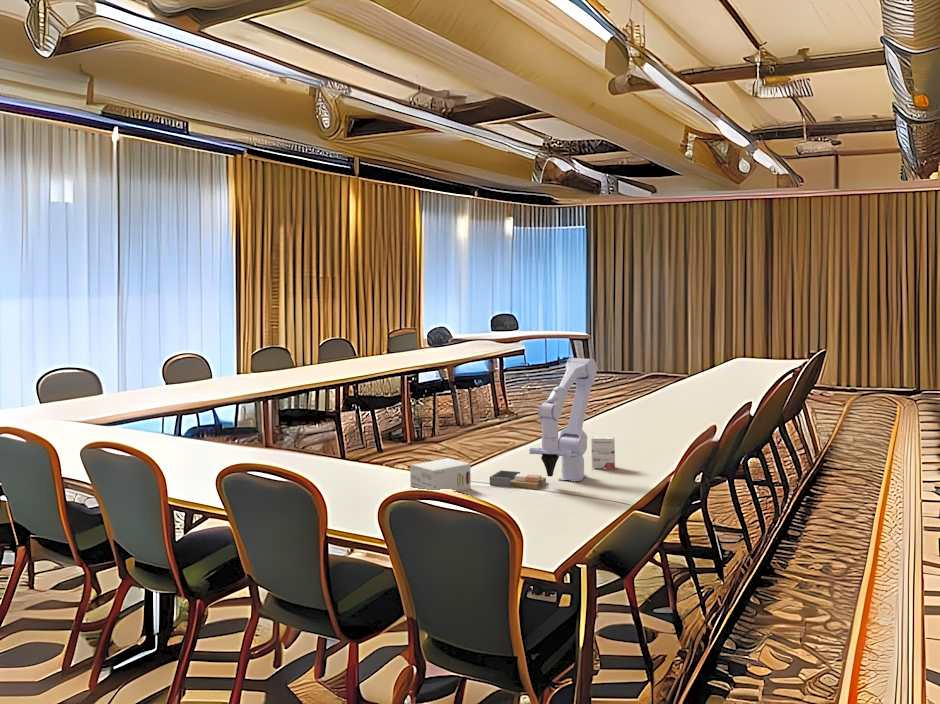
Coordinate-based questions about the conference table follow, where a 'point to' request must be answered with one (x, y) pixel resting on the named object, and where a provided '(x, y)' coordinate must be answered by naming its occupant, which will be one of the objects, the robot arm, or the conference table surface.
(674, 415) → the conference table surface
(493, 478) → the slate tray
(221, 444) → the conference table surface
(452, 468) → the supplement box
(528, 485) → the walnut board
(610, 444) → the ink box
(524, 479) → the cream tile
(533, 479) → the terracotta tile
